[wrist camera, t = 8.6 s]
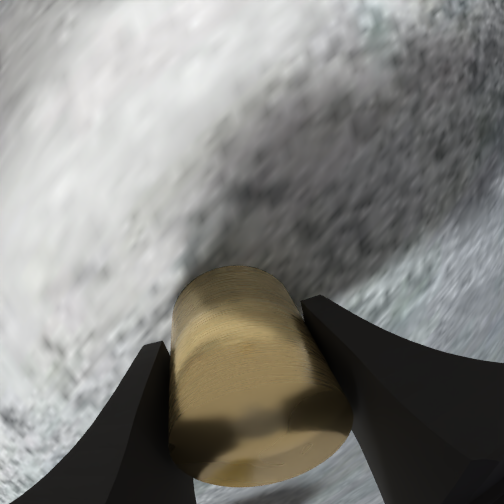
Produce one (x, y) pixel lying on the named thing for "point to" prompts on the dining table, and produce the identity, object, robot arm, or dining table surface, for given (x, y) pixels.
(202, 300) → the cylinder
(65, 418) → the dining table surface
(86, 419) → the dining table surface
